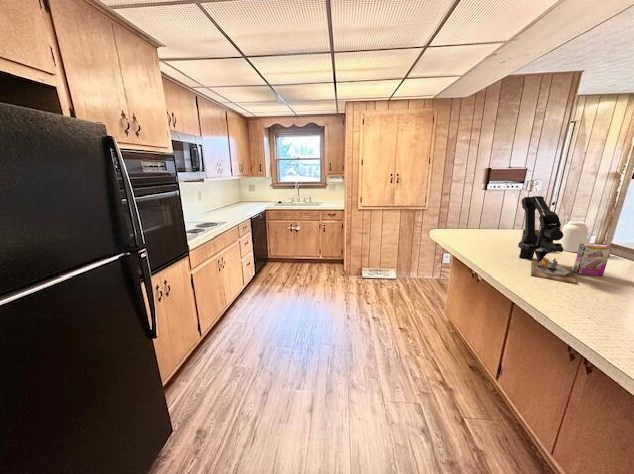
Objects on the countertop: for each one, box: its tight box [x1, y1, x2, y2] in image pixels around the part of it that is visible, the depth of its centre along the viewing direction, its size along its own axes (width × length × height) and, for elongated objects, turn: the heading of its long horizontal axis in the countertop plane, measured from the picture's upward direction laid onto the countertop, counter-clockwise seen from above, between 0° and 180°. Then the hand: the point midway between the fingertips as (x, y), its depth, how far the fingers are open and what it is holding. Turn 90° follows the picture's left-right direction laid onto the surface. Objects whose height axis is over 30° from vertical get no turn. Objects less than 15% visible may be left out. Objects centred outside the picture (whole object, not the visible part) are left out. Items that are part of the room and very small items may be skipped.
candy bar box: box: [572, 243, 612, 277], centre depth 143 cm, size 11×5×16 cm, turn 71°
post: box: [550, 259, 558, 271], centre depth 146 cm, size 2×2×7 cm
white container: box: [559, 220, 589, 253], centre depth 182 cm, size 12×12×20 cm
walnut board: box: [530, 261, 578, 285], centre depth 147 cm, size 18×24×1 cm
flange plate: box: [536, 256, 570, 276], centre depth 148 cm, size 18×13×4 cm
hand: (539, 261), depth 155 cm, fingers closed
